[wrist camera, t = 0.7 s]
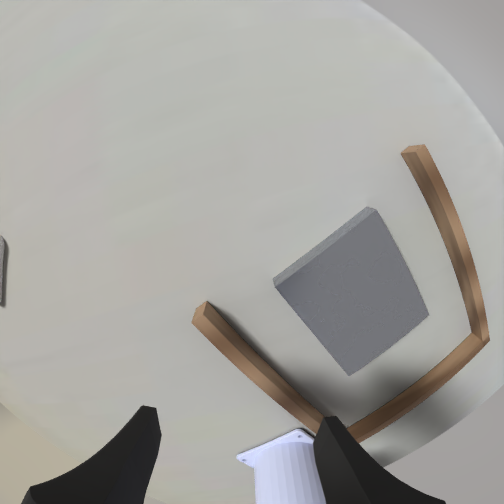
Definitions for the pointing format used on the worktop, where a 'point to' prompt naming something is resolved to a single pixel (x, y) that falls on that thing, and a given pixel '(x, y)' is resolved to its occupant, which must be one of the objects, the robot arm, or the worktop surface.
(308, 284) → the cover plate
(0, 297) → the smartphone
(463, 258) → the walnut u-shaped frame
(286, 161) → the worktop surface
